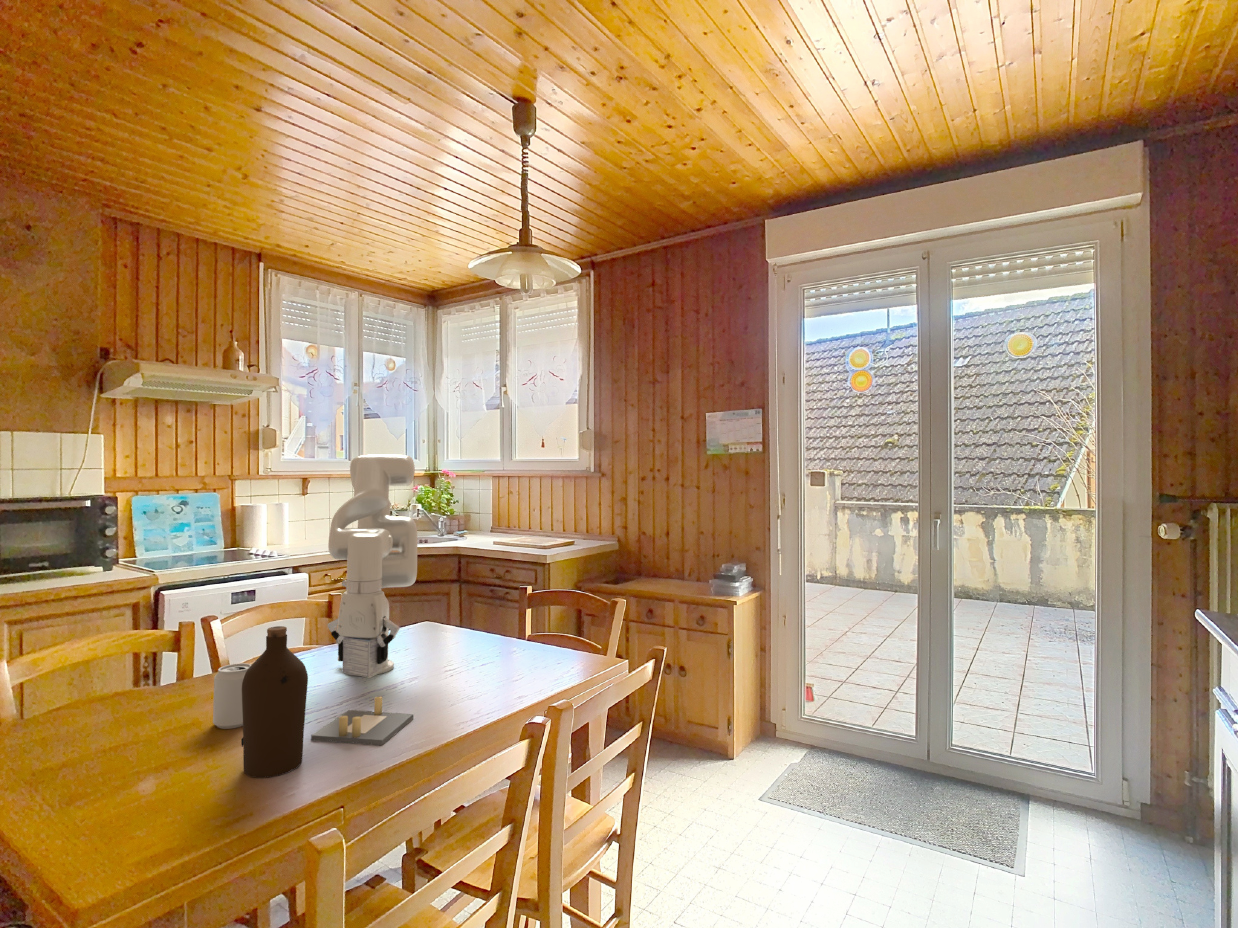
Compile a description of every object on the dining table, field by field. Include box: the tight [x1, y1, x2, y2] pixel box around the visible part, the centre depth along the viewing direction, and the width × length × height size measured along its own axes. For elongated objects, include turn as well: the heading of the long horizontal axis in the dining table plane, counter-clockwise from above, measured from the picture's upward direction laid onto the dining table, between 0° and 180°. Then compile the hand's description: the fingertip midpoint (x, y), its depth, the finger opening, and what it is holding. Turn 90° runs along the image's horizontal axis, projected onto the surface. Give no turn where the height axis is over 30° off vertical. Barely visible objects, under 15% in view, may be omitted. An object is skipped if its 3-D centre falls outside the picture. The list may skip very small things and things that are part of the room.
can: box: [212, 662, 252, 730], centre depth 136 cm, size 8×8×12 cm
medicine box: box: [342, 636, 382, 679], centre depth 148 cm, size 8×4×9 cm, turn 69°
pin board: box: [310, 696, 414, 746], centre depth 134 cm, size 15×14×4 cm
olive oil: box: [240, 625, 309, 779], centre depth 117 cm, size 11×11×25 cm
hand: (362, 660), depth 149 cm, fingers closed on medicine box, 8 cm apart
